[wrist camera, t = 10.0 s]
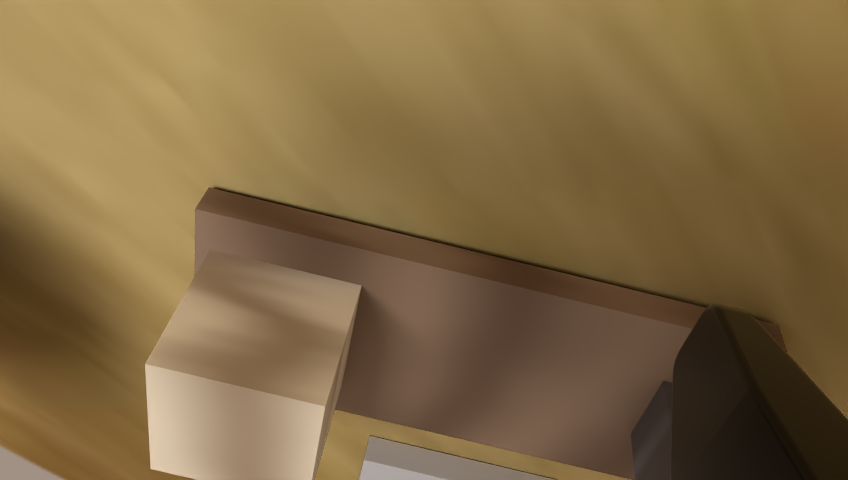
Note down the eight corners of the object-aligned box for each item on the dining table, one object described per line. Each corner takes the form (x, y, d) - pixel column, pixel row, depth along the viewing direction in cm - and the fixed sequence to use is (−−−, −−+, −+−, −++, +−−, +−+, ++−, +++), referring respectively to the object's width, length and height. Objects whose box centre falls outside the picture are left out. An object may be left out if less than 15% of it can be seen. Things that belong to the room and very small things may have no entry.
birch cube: (207, 352, 27) (150, 468, 24) (210, 249, 24) (144, 363, 20) (341, 384, 28) (307, 505, 24) (361, 285, 24) (325, 406, 21)
